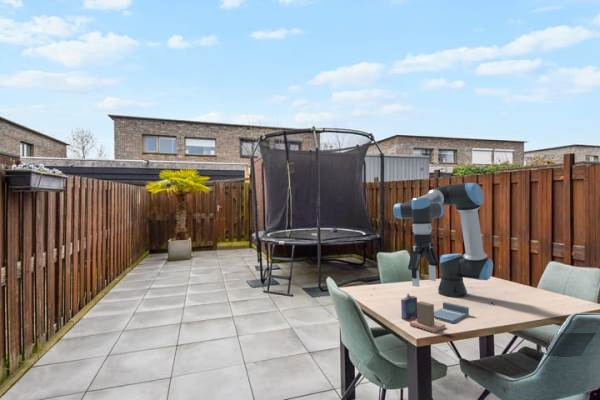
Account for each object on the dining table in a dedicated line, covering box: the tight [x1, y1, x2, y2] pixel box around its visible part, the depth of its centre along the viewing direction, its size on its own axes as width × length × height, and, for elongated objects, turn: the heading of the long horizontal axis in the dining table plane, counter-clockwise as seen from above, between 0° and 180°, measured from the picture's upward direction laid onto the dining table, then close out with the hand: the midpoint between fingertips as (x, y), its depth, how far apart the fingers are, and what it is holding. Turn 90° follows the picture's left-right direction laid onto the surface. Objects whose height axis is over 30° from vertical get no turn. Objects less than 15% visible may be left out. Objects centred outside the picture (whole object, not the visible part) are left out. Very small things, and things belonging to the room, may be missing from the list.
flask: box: [400, 293, 418, 320], centre depth 141 cm, size 9×3×11 cm, turn 117°
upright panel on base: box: [409, 301, 446, 333], centre depth 129 cm, size 11×9×10 cm
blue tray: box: [434, 301, 470, 324], centre depth 141 cm, size 11×16×4 cm
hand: (424, 283), depth 129 cm, fingers open, 13 cm apart
